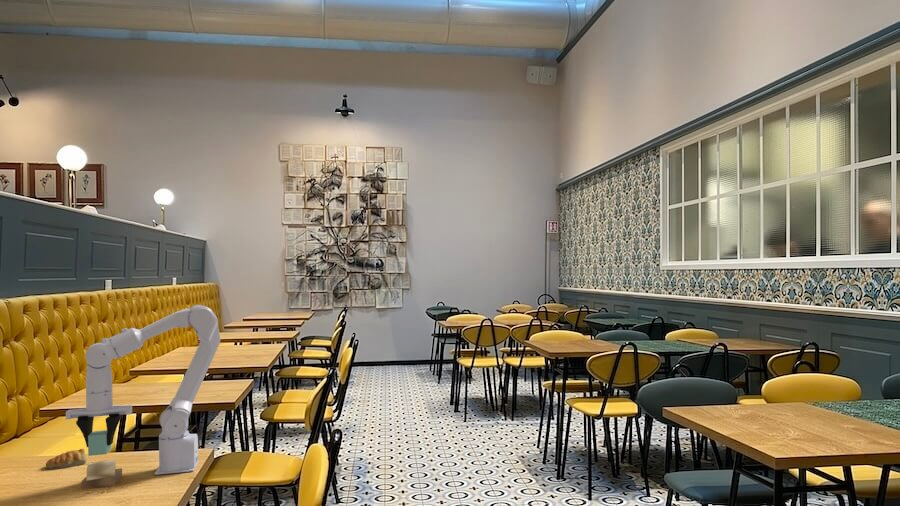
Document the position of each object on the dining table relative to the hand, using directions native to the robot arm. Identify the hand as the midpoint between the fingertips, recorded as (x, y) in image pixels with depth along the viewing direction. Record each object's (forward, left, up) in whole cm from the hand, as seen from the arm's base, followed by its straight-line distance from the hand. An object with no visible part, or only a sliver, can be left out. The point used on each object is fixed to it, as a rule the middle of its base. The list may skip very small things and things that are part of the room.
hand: (99, 445), depth 146 cm
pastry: (+13, -18, -10) cm, 25 cm away
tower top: (0, 0, -7) cm, 7 cm away
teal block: (0, 0, -2) cm, 2 cm away
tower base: (-1, 0, -10) cm, 10 cm away
